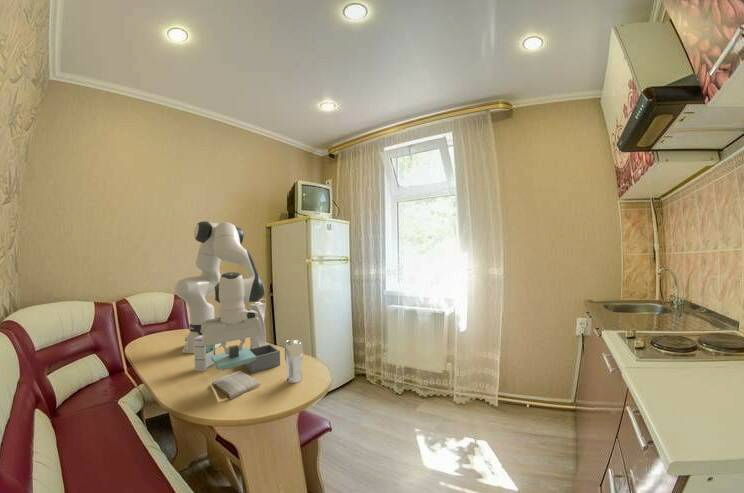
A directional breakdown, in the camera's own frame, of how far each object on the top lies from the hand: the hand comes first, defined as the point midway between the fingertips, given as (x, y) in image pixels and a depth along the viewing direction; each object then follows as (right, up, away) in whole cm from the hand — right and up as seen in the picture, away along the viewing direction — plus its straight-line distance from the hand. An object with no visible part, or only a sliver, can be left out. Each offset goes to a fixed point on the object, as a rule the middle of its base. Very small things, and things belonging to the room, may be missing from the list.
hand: (233, 351), depth 106 cm
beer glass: (+22, -13, +4) cm, 26 cm away
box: (+4, -13, +18) cm, 23 cm away
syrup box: (-21, -14, +17) cm, 31 cm away
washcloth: (0, -14, +1) cm, 14 cm away
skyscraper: (-3, -14, +32) cm, 35 cm away
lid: (0, -4, 0) cm, 4 cm away
